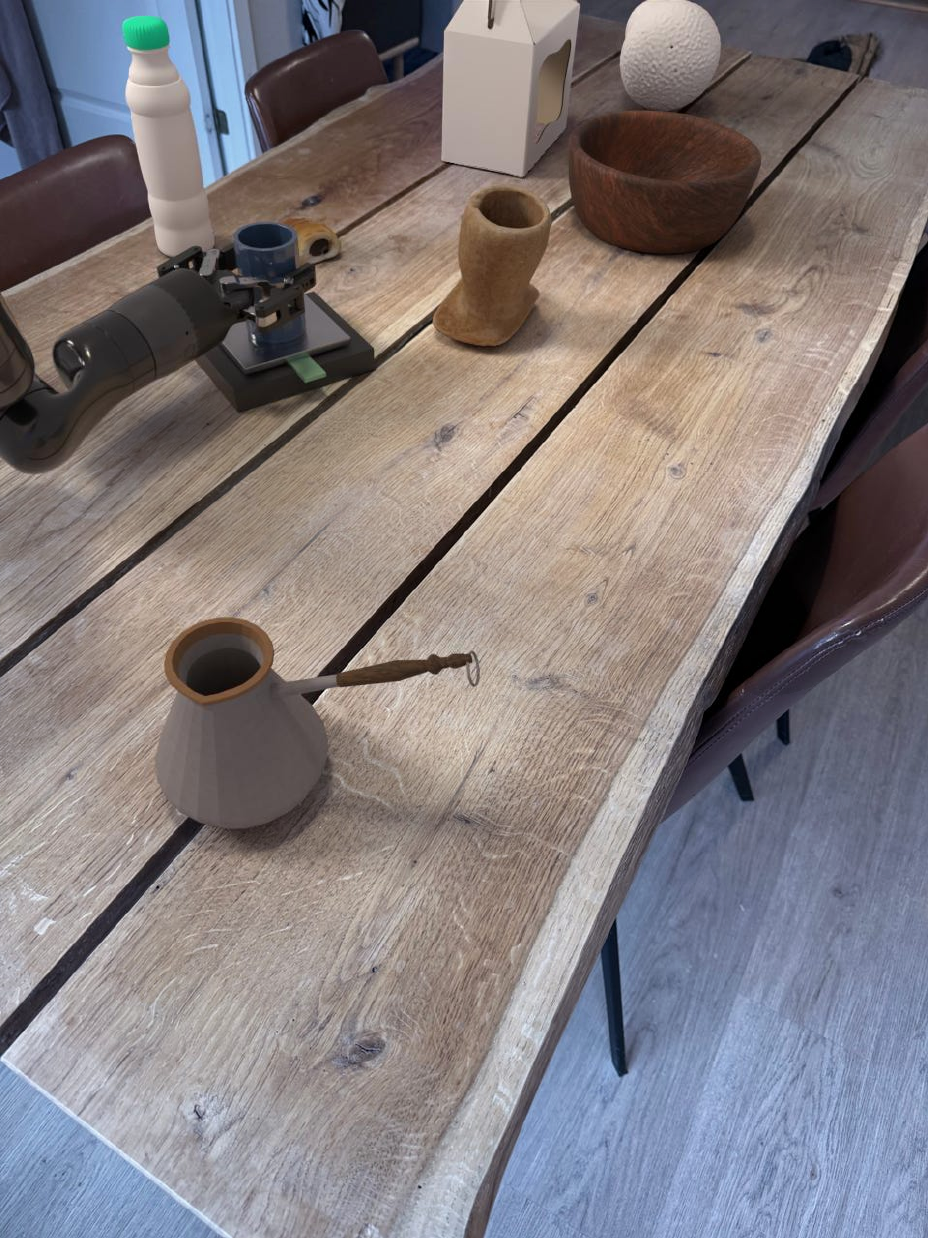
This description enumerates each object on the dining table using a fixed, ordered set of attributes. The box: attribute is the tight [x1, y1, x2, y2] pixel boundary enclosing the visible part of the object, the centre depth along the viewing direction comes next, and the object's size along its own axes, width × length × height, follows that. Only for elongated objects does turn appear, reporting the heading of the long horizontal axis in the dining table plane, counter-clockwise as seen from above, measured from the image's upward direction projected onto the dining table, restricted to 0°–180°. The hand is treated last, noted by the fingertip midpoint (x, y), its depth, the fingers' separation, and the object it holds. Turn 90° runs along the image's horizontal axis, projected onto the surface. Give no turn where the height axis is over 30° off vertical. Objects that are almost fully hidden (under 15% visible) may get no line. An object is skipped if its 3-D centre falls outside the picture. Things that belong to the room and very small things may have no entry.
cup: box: [232, 221, 306, 344], centre depth 92 cm, size 6×6×10 cm
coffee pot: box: [154, 616, 481, 830], centre depth 58 cm, size 21×12×15 cm, turn 85°
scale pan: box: [220, 292, 351, 375], centre depth 96 cm, size 12×11×1 cm
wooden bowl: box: [567, 110, 762, 255], centre depth 122 cm, size 25×25×10 cm
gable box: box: [440, 0, 581, 178], centre depth 132 cm, size 22×13×28 cm, turn 159°
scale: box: [194, 291, 376, 413], centre depth 97 cm, size 16×16×3 cm
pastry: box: [281, 217, 342, 266], centre depth 115 cm, size 9×7×4 cm
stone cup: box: [432, 183, 553, 347], centre depth 100 cm, size 15×12×15 cm
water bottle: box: [121, 15, 215, 258], centre depth 106 cm, size 7×7×25 cm
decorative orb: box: [619, 0, 722, 112], centre depth 150 cm, size 20×18×16 cm
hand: (280, 259), depth 92 cm, fingers open, 8 cm apart
